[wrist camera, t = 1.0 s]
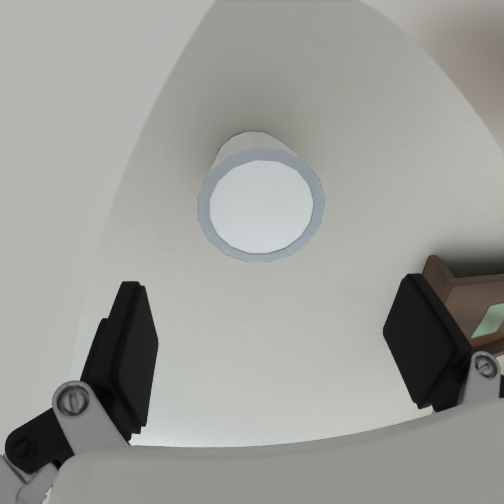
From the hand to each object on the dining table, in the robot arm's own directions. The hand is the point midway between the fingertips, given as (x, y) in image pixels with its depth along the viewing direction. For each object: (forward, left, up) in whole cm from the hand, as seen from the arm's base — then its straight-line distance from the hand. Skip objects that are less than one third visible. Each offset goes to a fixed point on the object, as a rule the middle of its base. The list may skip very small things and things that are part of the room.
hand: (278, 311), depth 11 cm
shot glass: (0, 0, -14) cm, 14 cm away
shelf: (+14, +27, -14) cm, 33 cm away
